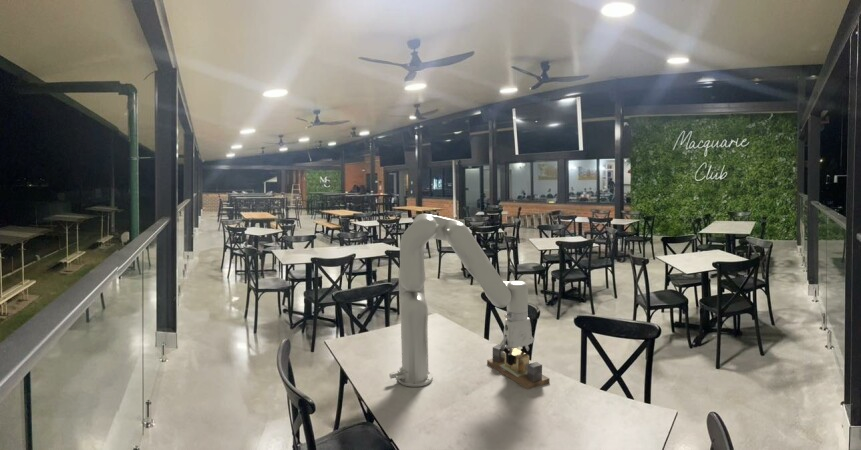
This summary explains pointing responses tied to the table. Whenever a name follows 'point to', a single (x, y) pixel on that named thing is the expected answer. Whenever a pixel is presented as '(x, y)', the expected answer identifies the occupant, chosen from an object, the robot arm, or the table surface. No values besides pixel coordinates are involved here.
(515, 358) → the gold rectangular block
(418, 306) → the robot arm
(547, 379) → the shaft rig
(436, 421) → the table surface
